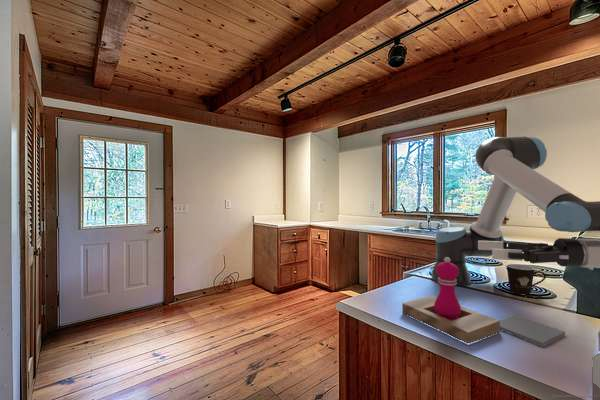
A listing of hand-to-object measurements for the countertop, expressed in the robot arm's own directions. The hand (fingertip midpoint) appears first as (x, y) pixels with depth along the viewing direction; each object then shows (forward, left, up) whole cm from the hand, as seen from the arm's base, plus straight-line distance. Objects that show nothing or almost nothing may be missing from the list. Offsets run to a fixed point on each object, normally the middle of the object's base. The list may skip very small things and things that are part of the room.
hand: (484, 249), depth 82 cm
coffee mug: (-9, +41, -23) cm, 48 cm away
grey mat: (+7, +8, -23) cm, 25 cm away
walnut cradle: (-7, -7, -23) cm, 25 cm away
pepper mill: (-7, -7, -23) cm, 25 cm away
